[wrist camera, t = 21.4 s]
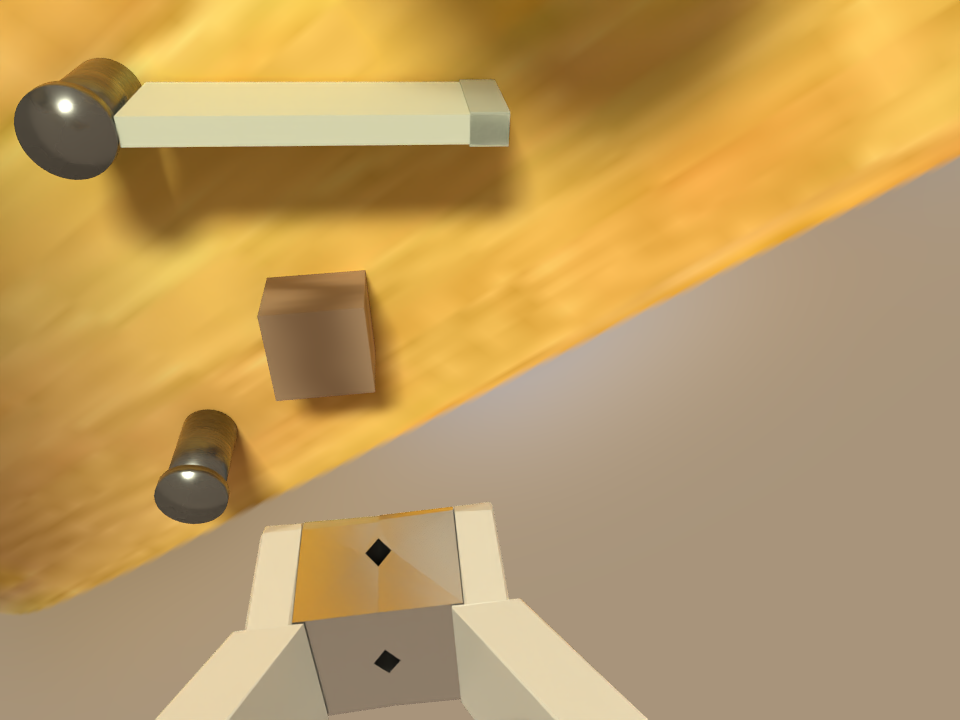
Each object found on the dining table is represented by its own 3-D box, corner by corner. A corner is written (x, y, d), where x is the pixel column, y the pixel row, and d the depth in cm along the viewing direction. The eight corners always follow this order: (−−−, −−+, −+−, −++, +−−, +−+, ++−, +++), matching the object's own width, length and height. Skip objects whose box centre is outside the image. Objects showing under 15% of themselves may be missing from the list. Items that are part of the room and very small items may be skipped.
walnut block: (284, 357, 43) (276, 401, 40) (267, 276, 40) (257, 316, 37) (375, 349, 43) (375, 392, 40) (365, 269, 41) (364, 307, 37)
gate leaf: (493, 110, 36) (508, 146, 32) (151, 112, 35) (121, 150, 30) (494, 79, 35) (510, 111, 31) (145, 79, 34) (113, 113, 30)
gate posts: (186, 457, 46) (165, 527, 41) (51, 53, 33) (-2, 89, 29) (248, 451, 46) (234, 519, 41) (138, 47, 33) (100, 82, 29)
